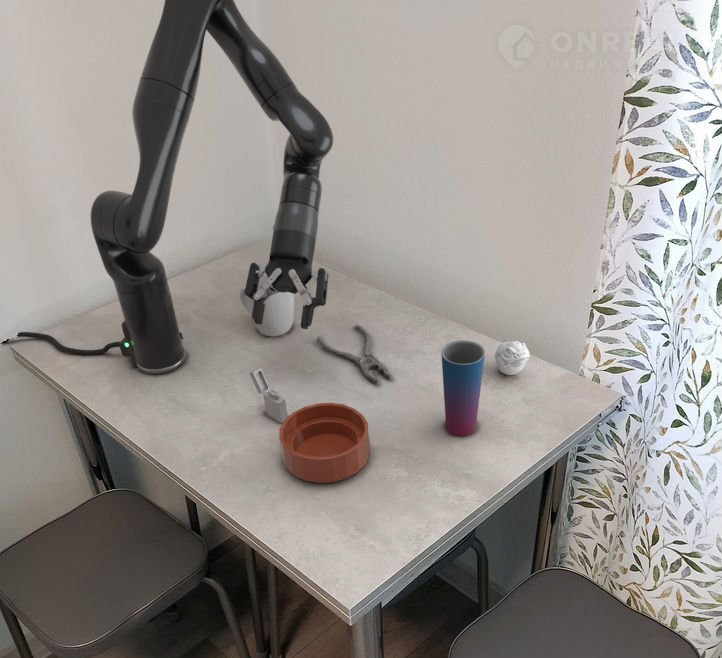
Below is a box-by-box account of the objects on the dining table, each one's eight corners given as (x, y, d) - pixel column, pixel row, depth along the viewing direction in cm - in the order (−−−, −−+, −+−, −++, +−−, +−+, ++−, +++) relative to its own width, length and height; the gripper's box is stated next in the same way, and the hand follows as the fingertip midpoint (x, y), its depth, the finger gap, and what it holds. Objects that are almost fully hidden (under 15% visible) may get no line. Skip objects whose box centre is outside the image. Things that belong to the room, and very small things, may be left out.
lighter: (288, 418, 141) (283, 381, 136) (281, 423, 140) (275, 385, 135) (262, 402, 145) (256, 365, 140) (255, 406, 144) (248, 369, 139)
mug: (306, 324, 164) (300, 280, 157) (276, 345, 159) (270, 300, 152) (259, 307, 170) (253, 264, 164) (230, 326, 165) (221, 283, 158)
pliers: (351, 319, 162) (417, 361, 150) (352, 323, 163) (417, 365, 151) (312, 337, 158) (377, 382, 146) (313, 341, 159) (377, 385, 146)
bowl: (270, 478, 129) (266, 452, 126) (299, 423, 140) (296, 398, 136) (356, 491, 126) (353, 465, 122) (379, 434, 136) (378, 408, 133)
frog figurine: (505, 388, 144) (508, 355, 140) (486, 367, 149) (488, 335, 145) (535, 379, 146) (538, 346, 141) (515, 359, 151) (518, 327, 146)
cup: (437, 416, 139) (438, 342, 129) (476, 412, 139) (480, 338, 129) (444, 441, 134) (445, 366, 124) (484, 437, 134) (489, 362, 124)
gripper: (339, 244, 143) (325, 334, 143) (264, 239, 147) (250, 327, 146) (327, 230, 136) (313, 324, 135) (249, 224, 139) (234, 316, 139)
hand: (280, 325), depth 141 cm, fingers open, 8 cm apart
